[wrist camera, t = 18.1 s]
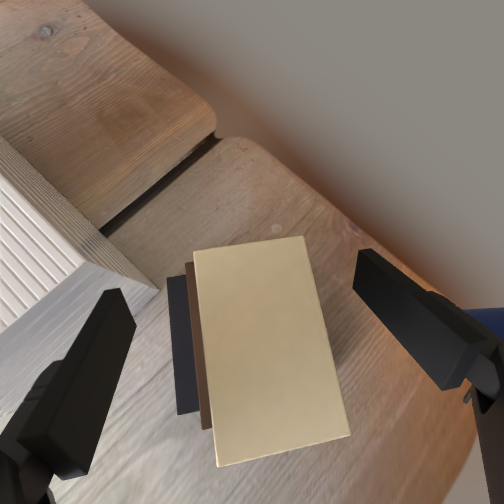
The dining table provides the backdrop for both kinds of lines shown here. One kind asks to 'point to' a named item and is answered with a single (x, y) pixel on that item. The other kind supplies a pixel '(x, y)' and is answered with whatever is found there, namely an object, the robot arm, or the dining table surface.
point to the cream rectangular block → (266, 351)
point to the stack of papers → (49, 275)
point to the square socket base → (188, 346)
